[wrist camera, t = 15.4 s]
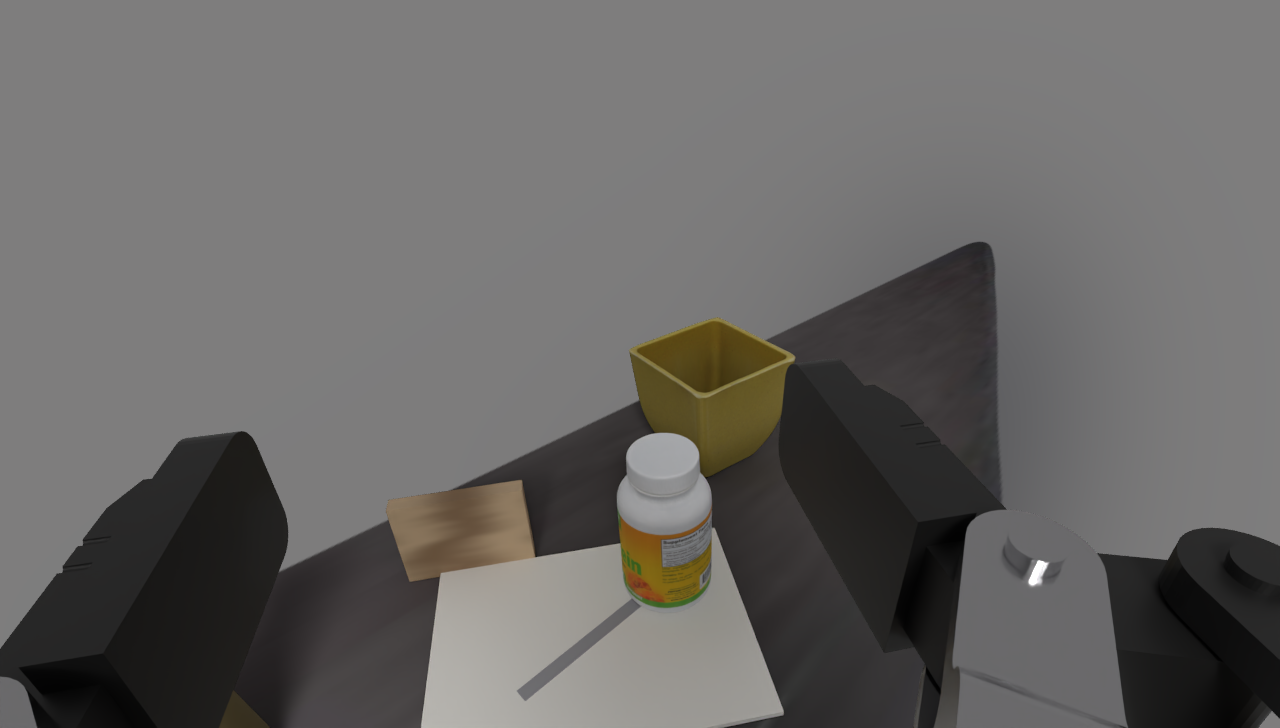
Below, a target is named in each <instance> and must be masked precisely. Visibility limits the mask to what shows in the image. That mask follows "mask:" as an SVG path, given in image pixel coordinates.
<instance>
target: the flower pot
mask: <svg viewBox="0 0 1280 728" xmlns="http://www.w3.org/2000/svg"><path fill="white" fill-rule="evenodd" d="M629 352H630V357H631V362H632V366H633V372H634V376H635V381H636V386H637V391H638V396H639V400H640V404H641V407H642V410H643V412H644V414H645V417H646V419H647V421H648V422H649V424H650V426H651V428H652V429H653V431H654V432H655V433H673V434H678V435H681V436H683V437H686V438H688V439H689V440H691V441H692V442H693V443H694V444H695V445H696V447H697V449H698V451H699V462H700V473H701V474H702V475H703V476H704V477H709V476H712V475H714V474H715V473H717V472H719V471H721V470H723V469H725V468H727V467H729V466H731V465H733V464H735V463H737V462H739V461H741V460H743V459H745V458H747V457H749V456H751V455H752V454H754V453H755V452H756V451H757V450H758V449H759V448H760V446H761V445H762V444H763V443H764V442H765V441H766V440H767V438H768V437H769V436H770V434H771V433H772V431H773V430H774V428H775V427H776V425H777V423H778V421H779V418H780V416H781V413H782V403H783V393H784V383H785V375H786V371H787V369H788V367H789V365H791V364H794V361H795V356H794V355H792V354H791V353H789V352H787V351H785V350H783V349H781V348H779V347H777V346H775V345H773V344H771V343H769V342H767V341H765V340H763V339H761V338H759V337H757V336H755V335H753V334H751V333H749V332H747V331H745V330H743V329H741V328H739V327H737V326H735V325H733V324H731V323H729V322H727V321H725V320H723V319H721V318H718V317H717V318H713V319H709V320H706V321H703V322H700V323H697V324H694V325H691V326H688V327H686V328H683V329H680V330H677V331H675V332H672V333H669V334H667V335H664V336H661V337H659V338H656V339H653V340H651V341H648V342H645V343H642V344H640V345H637V346H635V347H633V348H631V349H630V350H629Z"/></svg>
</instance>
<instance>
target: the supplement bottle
mask: <svg viewBox="0 0 1280 728" xmlns="http://www.w3.org/2000/svg"><path fill="white" fill-rule="evenodd" d="M626 467H627V475H626V476H625V477H624V479H623V480H622V482H621V483H620V485H619V488H618V492H617V510H618V521H619V533H620V545H621V557H622V570H623V579H624V584H625V588H626V590H627V592H628V594H629V595H630V597H631V598H632V599H633V600H634V601H635V602H636V603H638V604H639V605H641V606H642V607H644V608H646V609H649V610H651V611H655V612H660V613H673V612H679V611H682V610H685V609H688V608H690V607H692V606H693V605H695V604H696V603H698V602H699V601H700V600H701V599H702V598H703V597H704V595H705V594H706V592H707V590H708V588H709V585H710V581H711V567H712V566H711V562H712V495H711V489H710V486H709V484H708V482H707V480H706V479H705V477H704V476H703V475H702V474H701V473H700V462H699V451H698V449H697V447H696V445H695V444H694V443H693V442H692V441H691V440H689V439H688V438H686V437H683V436H681V435H678V434H673V433H655V434H650V435H647V436H644V437H642V438H640V439H638V440H636V441H635V442H634V443H633V444H632V445H631V446H630V447H629V449H628V451H627V454H626Z"/></svg>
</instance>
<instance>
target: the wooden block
mask: <svg viewBox="0 0 1280 728" xmlns="http://www.w3.org/2000/svg"><path fill="white" fill-rule="evenodd" d="M386 513H387V516H388V519H389V522H390V525H391V528H392V531H393V534H394V537H395V540H396V543H397V546H398V549H399V552H400V555H401V558H402V561H403V564H404V567H405V570H406V573H407V575H408V578H409V581H410V582H411V581H417V580H423V579H429V578H435V577H440V575H441V573H445V572H451V571H457V570H463V569H469V568H475V567H481V566H487V565H493V564H499V563H505V562H511V561H517V560H523V559H529V558H535V546H534V541H533V535H532V530H531V525H530V520H529V514H528V509H527V504H526V499H525V493H524V488H523V483H522V480H517V481H510V482H504V483H497V484H491V485H484V486H477V487H471V488H464V489H458V490H451V491H444V492H438V493H431V494H425V495H418V496H411V497H405V498H398V499H392V500H388V504H387V509H386Z"/></svg>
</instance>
